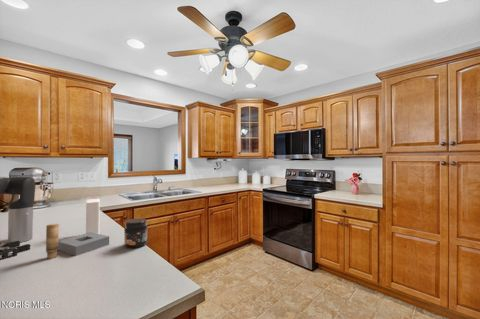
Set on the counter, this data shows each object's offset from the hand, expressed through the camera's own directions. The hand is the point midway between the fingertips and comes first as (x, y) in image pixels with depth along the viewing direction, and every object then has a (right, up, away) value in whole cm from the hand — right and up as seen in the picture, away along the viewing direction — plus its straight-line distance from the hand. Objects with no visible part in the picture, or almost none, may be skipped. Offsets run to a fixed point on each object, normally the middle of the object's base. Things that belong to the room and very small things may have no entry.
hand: (24, 244), depth 88 cm
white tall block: (+2, -9, +38) cm, 39 cm away
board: (+10, -9, +20) cm, 24 cm away
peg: (+4, -9, +8) cm, 12 cm away
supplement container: (+33, -9, +23) cm, 41 cm away
